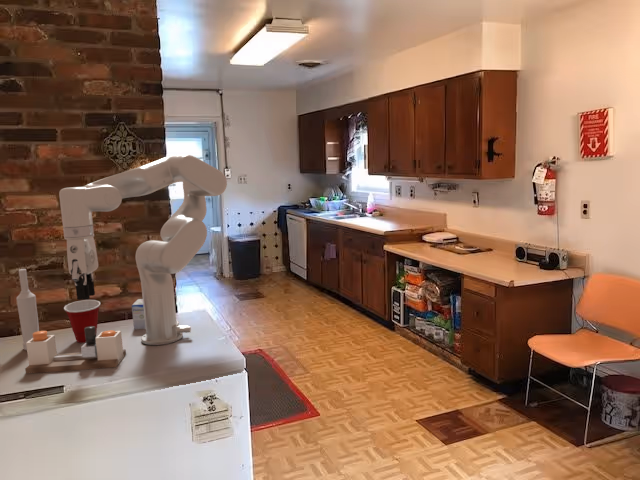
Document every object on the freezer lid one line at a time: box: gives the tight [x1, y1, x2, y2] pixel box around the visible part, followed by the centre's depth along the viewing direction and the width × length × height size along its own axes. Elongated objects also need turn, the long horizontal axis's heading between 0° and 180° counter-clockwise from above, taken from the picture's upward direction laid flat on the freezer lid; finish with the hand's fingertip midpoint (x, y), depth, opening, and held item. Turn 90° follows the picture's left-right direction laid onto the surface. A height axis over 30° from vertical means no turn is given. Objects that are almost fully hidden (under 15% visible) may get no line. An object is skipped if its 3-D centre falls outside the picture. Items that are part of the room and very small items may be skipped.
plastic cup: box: [63, 299, 101, 344], centre depth 169 cm, size 11×11×12 cm
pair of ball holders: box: [26, 330, 125, 366], centre depth 149 cm, size 24×5×8 cm, turn 94°
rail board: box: [24, 348, 127, 374], centre depth 150 cm, size 24×10×2 cm, turn 94°
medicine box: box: [131, 298, 146, 330], centre depth 182 cm, size 8×4×9 cm, turn 5°
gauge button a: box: [100, 329, 116, 337], centre depth 149 cm, size 4×4×2 cm
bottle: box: [16, 268, 40, 351], centre depth 163 cm, size 5×5×25 cm
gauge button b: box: [33, 330, 48, 342], centre depth 148 cm, size 4×4×2 cm
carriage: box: [80, 326, 97, 357], centre depth 149 cm, size 4×6×8 cm, turn 4°
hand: (86, 296), depth 147 cm, fingers open, 3 cm apart
